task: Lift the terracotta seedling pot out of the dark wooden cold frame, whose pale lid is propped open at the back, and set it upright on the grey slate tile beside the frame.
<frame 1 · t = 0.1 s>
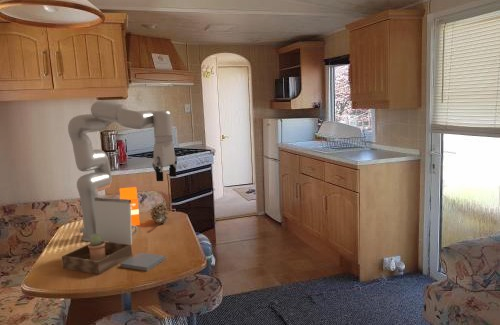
hand: (166, 178, 178), 31 cm above the table, tool pointing down, fingers open, 9 cm apart
frame lid: (113, 220, 176), point 15 cm above the table, hinge at 94.0°
pine cone: (160, 224, 217), on the table
terracotta pot: (97, 248, 168), in the cold frame
slate tile: (143, 263, 166), on the table
teacup: (123, 244, 190), on the table
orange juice: (131, 224, 220), on the table
cold frame: (98, 262, 169), on the table
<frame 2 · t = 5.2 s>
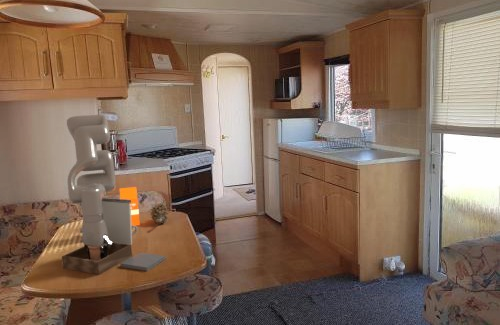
hand: (98, 259, 169), 1 cm above the table, tool pointing down, fingers closed on terracotta pot, 6 cm apart
terracotta pot: (97, 248, 168), in the cold frame, touching gripper
everything else where it was.
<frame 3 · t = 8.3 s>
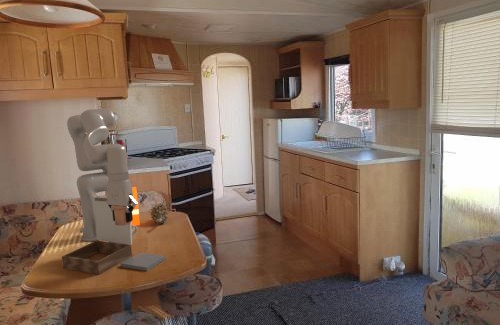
hand: (123, 220, 164), 18 cm above the table, tool pointing down, fingers closed on terracotta pot, 6 cm apart
terracotta pot: (121, 208, 163), point 23 cm above the table, touching gripper
everything else where it was.
when the fingers open (4 cm above the table, at t = 11.9 s): terracotta pot stays where it is, resting on slate tile.
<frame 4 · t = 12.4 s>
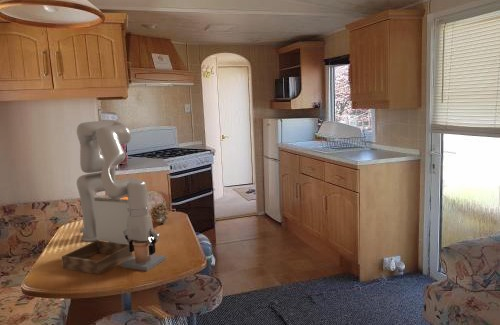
hand: (142, 252, 165), 5 cm above the table, tool pointing down, fingers open, 9 cm apart
terracotta pot: (141, 245, 165), on the slate tile, point 8 cm above the table
everything else where it was.
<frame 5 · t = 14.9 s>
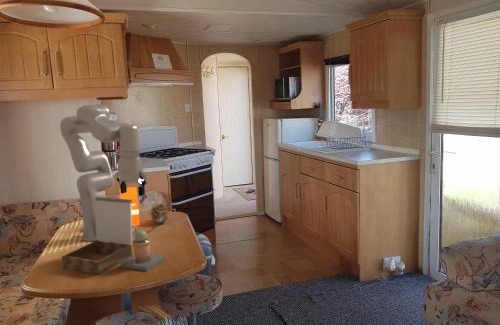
hand: (132, 194, 174), 26 cm above the table, tool pointing down, fingers open, 9 cm apart
frame lid: (113, 220, 177), point 15 cm above the table, hinge at 95.6°
everything else where it was.
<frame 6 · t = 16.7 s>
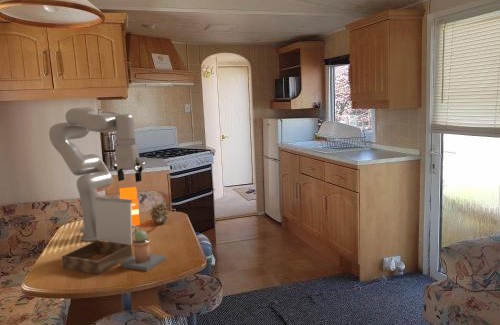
hand: (129, 180, 181), 30 cm above the table, tool pointing down, fingers open, 9 cm apart
nothing on the table moved.
at the end: terracotta pot inside the target area on the slate tile (0.1 cm from its centre), point 7.6 cm above the slate tile's base; terracotta pot tilted 0°; the gripper is holding nothing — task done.
